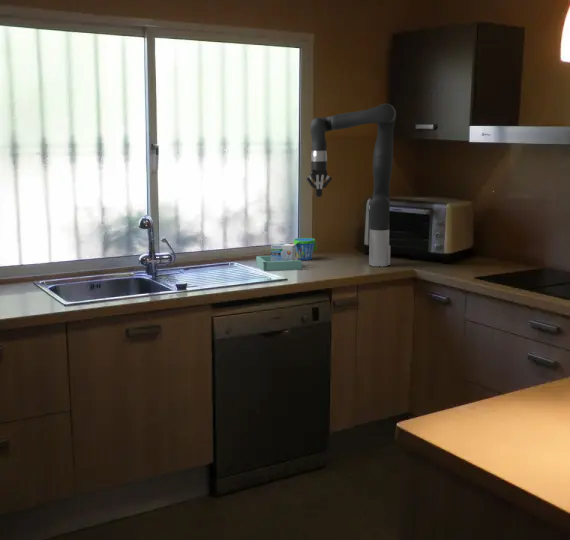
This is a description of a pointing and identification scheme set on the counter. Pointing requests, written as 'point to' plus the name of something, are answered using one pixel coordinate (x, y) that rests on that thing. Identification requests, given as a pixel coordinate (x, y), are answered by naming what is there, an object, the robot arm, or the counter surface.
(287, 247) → the light bulb box
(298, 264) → the corral
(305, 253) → the snack cup
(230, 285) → the counter surface
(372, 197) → the robot arm
